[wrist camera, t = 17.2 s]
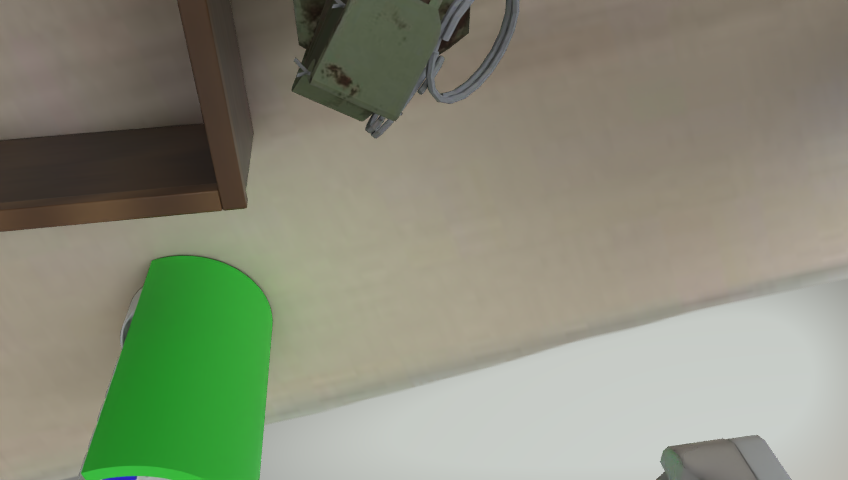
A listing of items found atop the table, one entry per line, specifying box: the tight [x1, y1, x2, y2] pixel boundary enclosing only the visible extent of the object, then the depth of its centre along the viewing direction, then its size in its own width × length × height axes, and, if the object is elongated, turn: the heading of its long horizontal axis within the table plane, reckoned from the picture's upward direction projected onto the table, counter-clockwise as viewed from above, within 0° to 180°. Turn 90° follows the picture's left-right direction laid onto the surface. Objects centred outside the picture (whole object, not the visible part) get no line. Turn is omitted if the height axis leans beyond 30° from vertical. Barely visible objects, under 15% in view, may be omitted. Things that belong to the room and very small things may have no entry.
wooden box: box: [0, 0, 254, 232], centre depth 28 cm, size 16×16×7 cm
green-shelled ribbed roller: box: [79, 256, 273, 480], centre depth 34 cm, size 9×8×18 cm
